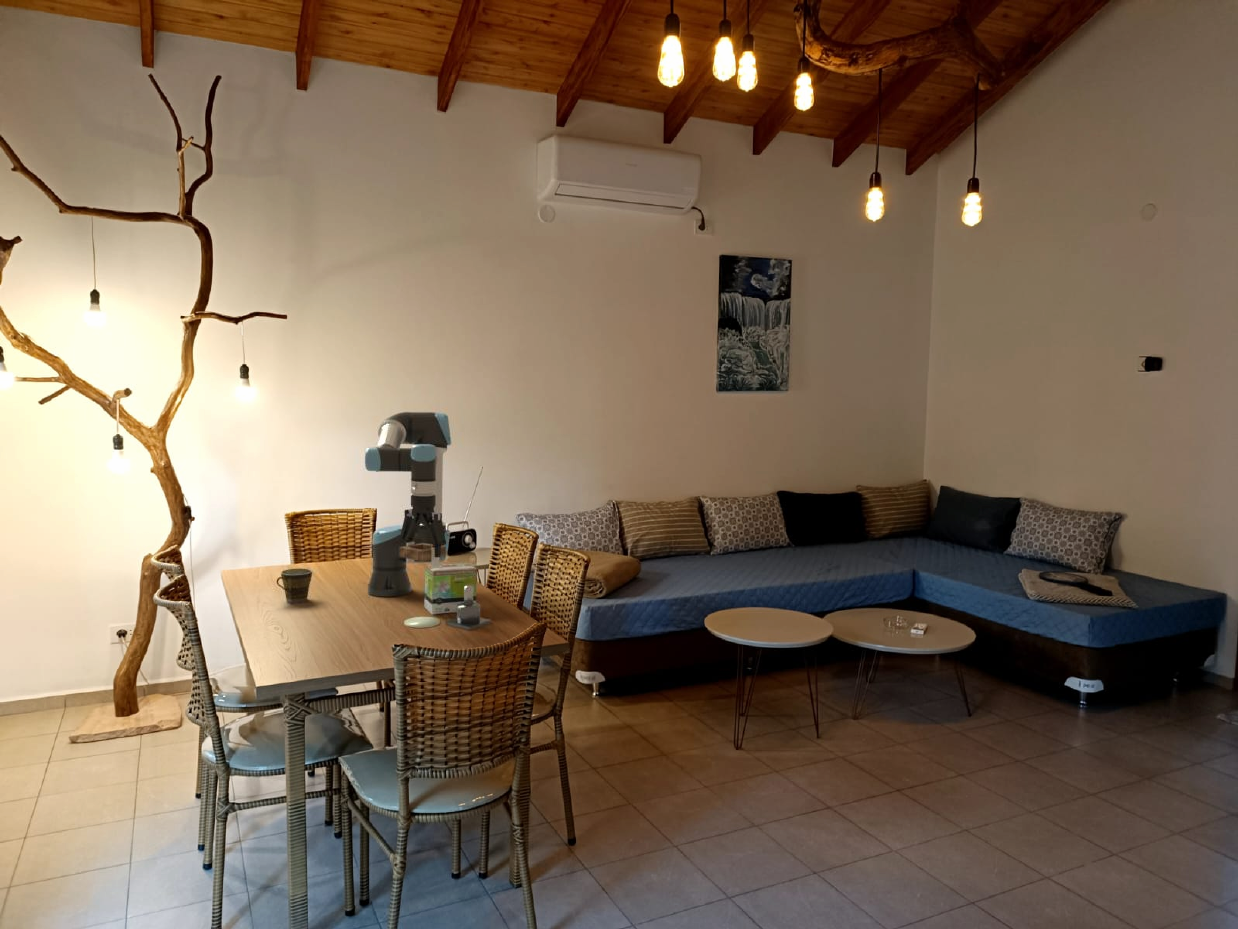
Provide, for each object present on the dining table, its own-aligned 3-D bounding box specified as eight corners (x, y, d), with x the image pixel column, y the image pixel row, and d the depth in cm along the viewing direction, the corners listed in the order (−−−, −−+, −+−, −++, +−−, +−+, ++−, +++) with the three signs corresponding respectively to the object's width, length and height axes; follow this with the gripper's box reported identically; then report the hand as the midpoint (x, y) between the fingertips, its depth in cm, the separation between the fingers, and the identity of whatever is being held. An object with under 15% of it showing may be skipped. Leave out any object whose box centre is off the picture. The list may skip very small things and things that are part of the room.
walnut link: (399, 556, 267) (399, 547, 267) (422, 552, 276) (422, 542, 275) (422, 561, 262) (422, 551, 262) (445, 556, 270) (445, 546, 270)
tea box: (432, 615, 280) (432, 570, 278) (424, 608, 288) (424, 564, 287) (476, 611, 286) (477, 567, 285) (467, 603, 295) (468, 561, 294)
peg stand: (445, 624, 270) (445, 587, 269) (467, 617, 278) (467, 581, 277) (469, 630, 265) (470, 592, 263) (490, 623, 273) (491, 585, 272)
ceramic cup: (298, 595, 300) (298, 567, 299) (318, 599, 295) (318, 570, 294) (267, 603, 288) (266, 573, 287) (287, 607, 283) (287, 577, 282)
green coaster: (396, 623, 269) (396, 622, 269) (422, 616, 278) (422, 614, 278) (422, 630, 263) (422, 628, 263) (447, 622, 273) (447, 620, 273)
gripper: (388, 492, 270) (388, 562, 272) (441, 499, 258) (440, 572, 260) (406, 489, 276) (405, 558, 278) (458, 496, 264) (458, 568, 266)
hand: (422, 565), depth 269 cm, fingers closed on walnut link, 10 cm apart
